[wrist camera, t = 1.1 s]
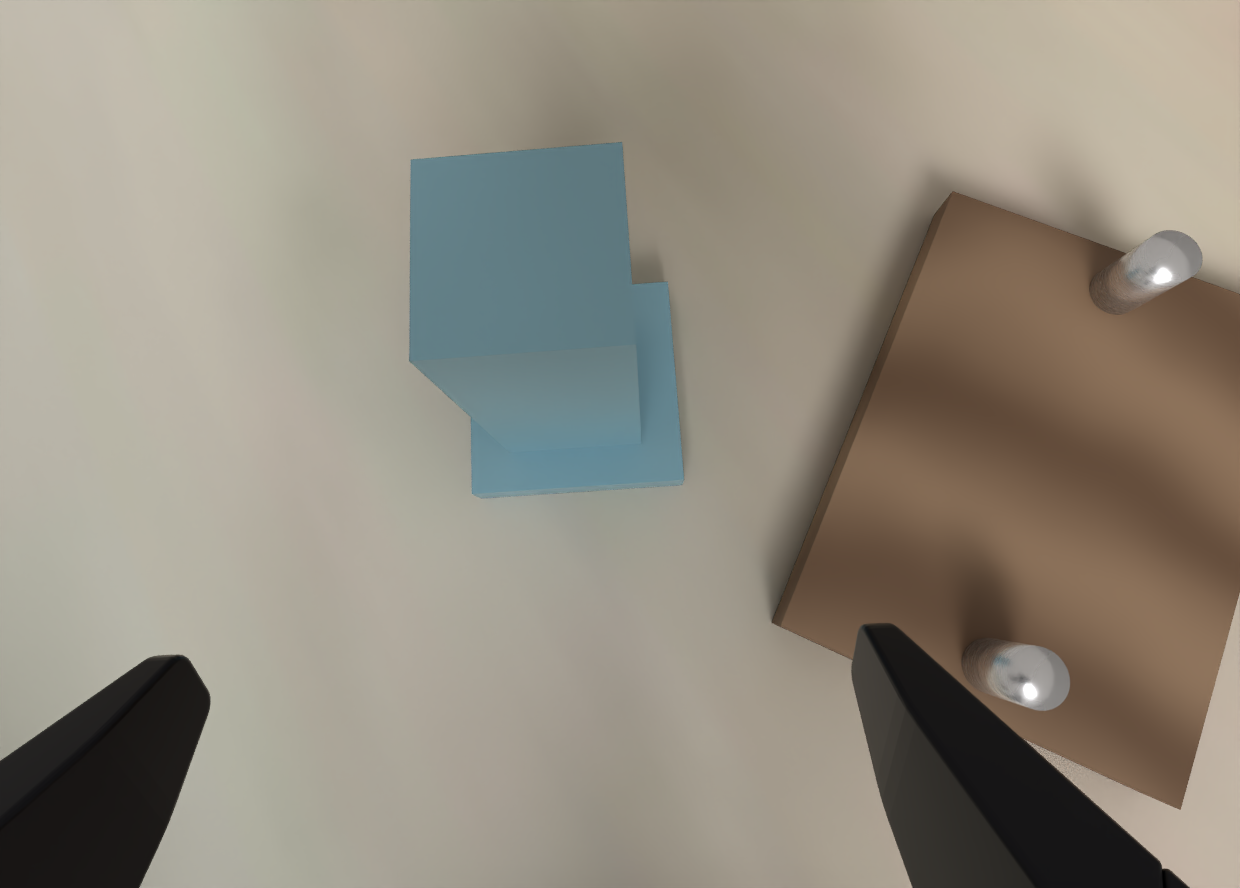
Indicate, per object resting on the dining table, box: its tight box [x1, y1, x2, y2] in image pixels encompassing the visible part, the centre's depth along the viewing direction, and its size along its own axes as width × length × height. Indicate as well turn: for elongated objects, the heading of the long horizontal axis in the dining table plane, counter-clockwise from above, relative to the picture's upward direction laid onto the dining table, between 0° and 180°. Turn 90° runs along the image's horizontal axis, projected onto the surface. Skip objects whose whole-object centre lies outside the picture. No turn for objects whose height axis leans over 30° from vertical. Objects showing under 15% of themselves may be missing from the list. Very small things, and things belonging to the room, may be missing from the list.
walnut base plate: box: [772, 192, 1240, 810], centre depth 21 cm, size 16×12×2 cm
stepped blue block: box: [409, 142, 684, 498], centre depth 18 cm, size 7×7×10 cm
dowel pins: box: [961, 230, 1202, 711], centre depth 19 cm, size 15×2×2 cm, turn 155°
